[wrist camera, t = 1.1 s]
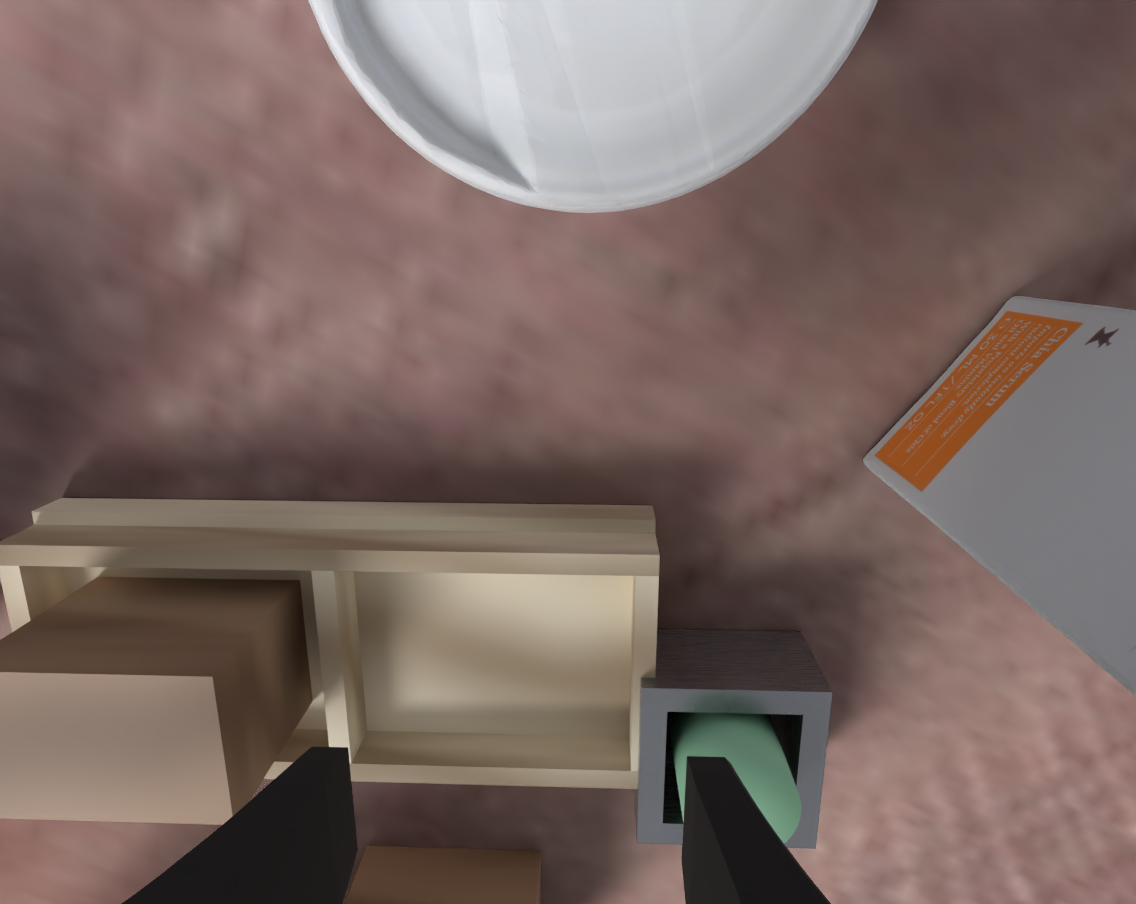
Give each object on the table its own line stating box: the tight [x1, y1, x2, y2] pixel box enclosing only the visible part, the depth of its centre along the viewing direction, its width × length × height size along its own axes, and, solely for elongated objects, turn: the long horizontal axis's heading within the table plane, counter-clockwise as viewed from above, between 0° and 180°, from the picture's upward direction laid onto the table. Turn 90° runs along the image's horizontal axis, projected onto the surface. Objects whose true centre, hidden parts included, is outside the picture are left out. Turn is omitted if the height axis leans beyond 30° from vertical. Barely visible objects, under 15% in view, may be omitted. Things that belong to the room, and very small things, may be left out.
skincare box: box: [863, 296, 1136, 696], centre depth 15 cm, size 6×4×12 cm
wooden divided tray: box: [0, 498, 660, 789], centre depth 22 cm, size 8×18×3 cm, turn 90°
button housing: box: [633, 629, 832, 849], centre depth 22 cm, size 5×5×3 cm
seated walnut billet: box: [0, 577, 313, 825], centre depth 19 cm, size 4×6×5 cm, turn 90°
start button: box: [670, 712, 801, 843], centre depth 20 cm, size 3×3×3 cm
